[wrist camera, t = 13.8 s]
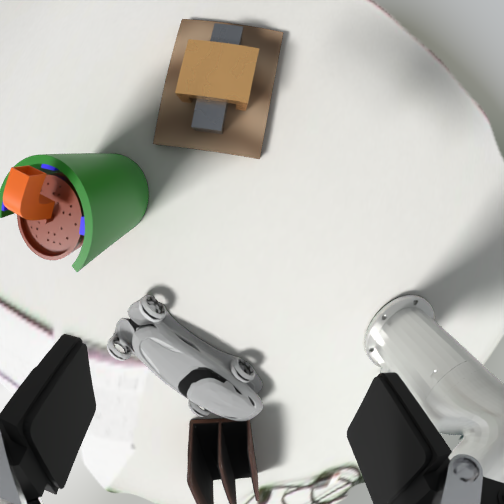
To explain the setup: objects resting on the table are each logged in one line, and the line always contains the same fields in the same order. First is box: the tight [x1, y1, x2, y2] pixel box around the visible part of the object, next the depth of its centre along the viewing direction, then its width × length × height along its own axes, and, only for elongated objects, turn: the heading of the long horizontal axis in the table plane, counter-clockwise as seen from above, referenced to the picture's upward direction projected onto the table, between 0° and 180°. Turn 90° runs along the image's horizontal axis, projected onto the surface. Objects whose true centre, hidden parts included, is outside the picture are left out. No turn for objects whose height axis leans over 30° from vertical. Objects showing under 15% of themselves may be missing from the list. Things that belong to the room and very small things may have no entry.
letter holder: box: [187, 418, 259, 504], centre depth 41 cm, size 10×20×14 cm, turn 5°
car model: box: [107, 295, 263, 421], centre depth 39 cm, size 11×24×5 cm, turn 47°
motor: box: [0, 153, 149, 272], centre depth 24 cm, size 10×9×20 cm
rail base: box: [153, 19, 283, 159], centre depth 30 cm, size 16×12×2 cm
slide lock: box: [175, 39, 259, 111], centre depth 27 cm, size 6×7×4 cm
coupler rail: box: [191, 23, 243, 134], centre depth 28 cm, size 12×3×4 cm, turn 170°
